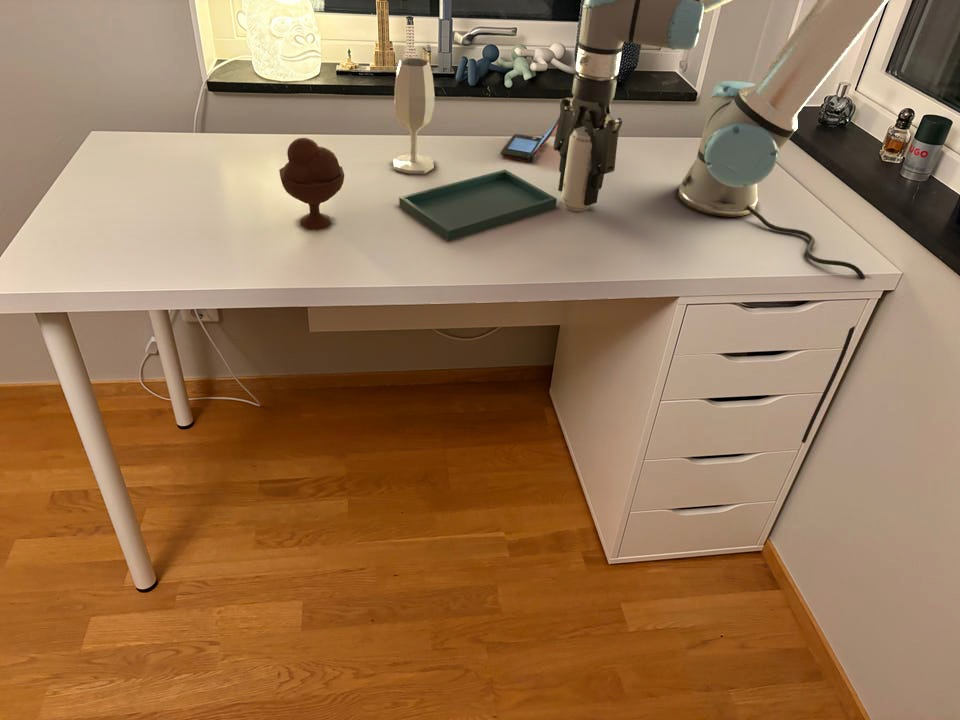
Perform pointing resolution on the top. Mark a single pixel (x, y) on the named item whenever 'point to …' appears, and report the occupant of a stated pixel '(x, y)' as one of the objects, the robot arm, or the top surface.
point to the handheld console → (526, 146)
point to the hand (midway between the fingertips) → (577, 196)
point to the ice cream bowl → (311, 179)
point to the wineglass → (414, 109)
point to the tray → (476, 204)
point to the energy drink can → (577, 170)
